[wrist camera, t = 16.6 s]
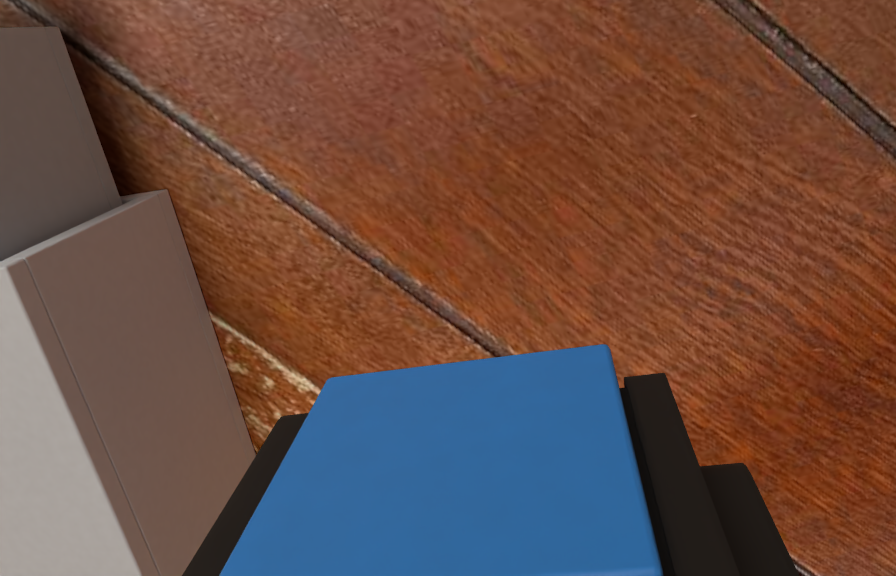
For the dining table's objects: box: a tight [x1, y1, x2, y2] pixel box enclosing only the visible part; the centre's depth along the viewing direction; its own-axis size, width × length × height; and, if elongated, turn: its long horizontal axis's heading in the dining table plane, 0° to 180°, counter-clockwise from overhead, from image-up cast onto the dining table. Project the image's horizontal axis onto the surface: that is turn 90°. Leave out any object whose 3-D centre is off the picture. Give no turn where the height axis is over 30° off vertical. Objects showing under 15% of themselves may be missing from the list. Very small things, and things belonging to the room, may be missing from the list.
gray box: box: [0, 189, 256, 576], centre depth 26 cm, size 15×13×9 cm
